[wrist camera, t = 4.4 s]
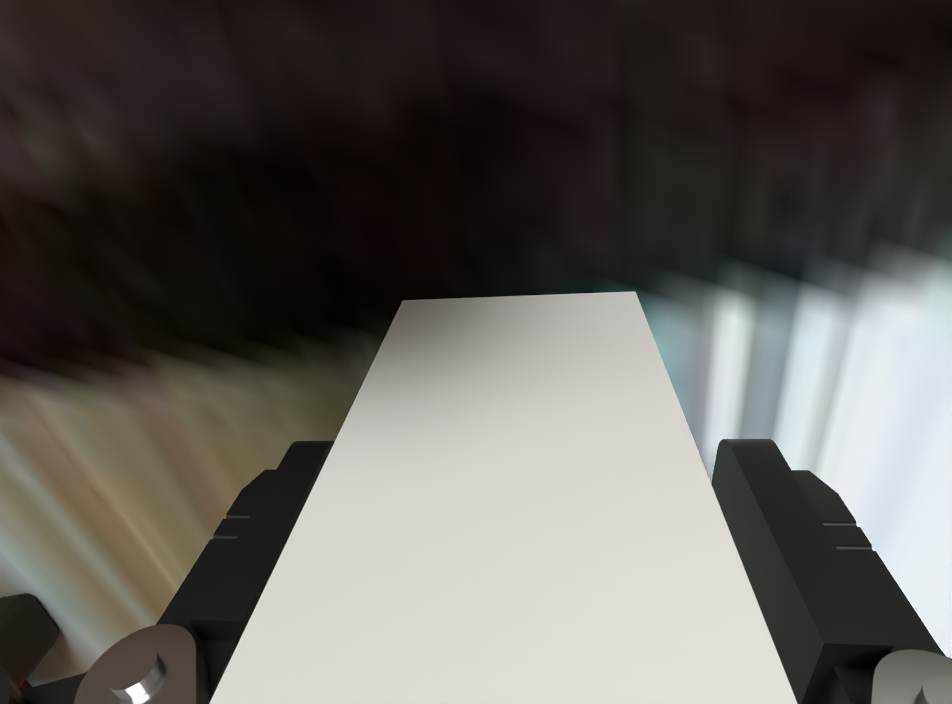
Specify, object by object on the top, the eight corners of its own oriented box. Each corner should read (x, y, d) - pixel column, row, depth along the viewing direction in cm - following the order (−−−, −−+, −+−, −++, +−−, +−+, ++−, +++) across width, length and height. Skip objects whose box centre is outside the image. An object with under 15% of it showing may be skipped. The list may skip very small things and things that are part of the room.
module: (442, 546, 13) (363, 998, 7) (403, 299, 10) (194, 733, 4) (618, 548, 12) (698, 1037, 6) (635, 290, 9) (822, 769, 3)
